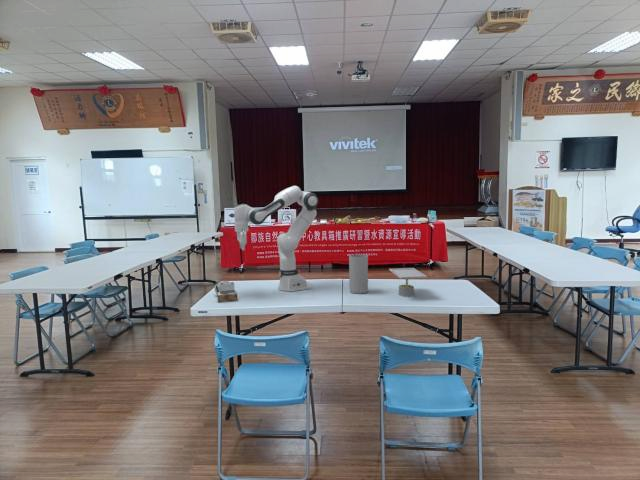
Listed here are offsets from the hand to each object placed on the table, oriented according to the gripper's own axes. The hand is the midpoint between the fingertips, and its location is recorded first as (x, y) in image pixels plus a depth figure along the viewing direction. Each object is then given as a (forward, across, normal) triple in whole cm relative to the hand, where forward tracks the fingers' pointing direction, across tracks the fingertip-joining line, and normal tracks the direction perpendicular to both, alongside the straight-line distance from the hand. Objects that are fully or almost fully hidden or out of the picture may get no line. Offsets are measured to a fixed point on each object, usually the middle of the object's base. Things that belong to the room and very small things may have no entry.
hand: (242, 249), depth 288 cm
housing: (+26, -10, +12) cm, 30 cm away
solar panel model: (+31, -38, -102) cm, 113 cm away
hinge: (+32, +7, +13) cm, 35 cm away
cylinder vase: (+31, -20, -75) cm, 84 cm away
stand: (+31, -10, +12) cm, 35 cm away
